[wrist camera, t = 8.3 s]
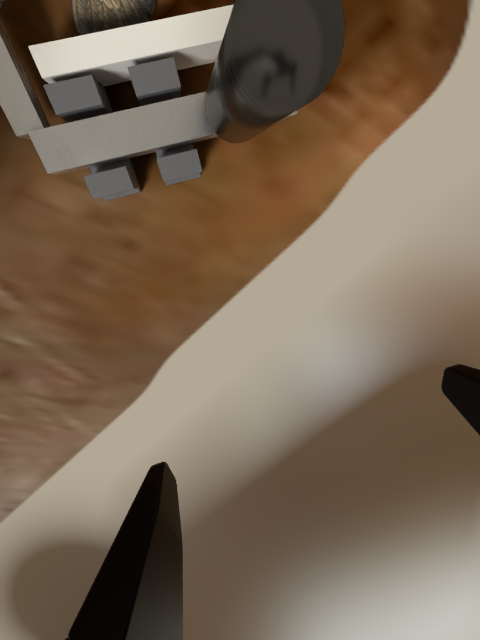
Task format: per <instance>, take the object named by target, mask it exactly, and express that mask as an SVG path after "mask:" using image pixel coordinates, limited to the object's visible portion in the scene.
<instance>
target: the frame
mask: <svg viewBox="0 0 480 640" xmlns="http://www.w3.org/2000/svg"><path fill="white" fill-rule="evenodd" d="M233 6H234V5H229V6H224V7H219V8H214V9H209V10H204V11H199V12H194V13H189V14H184V15H180V16H175V17H170V18H165V19H160V20H155V21H150V22H145V23H140V24H135V25H130V26H125V27H120V28H115V29H110V30H106V31H101V32H96V33H91V34H86V35H81V36H76V37H71V38H66V39H61V40H56V41H51V42H46V43H41V44H36V45H32V46H28V47H29V50H30V52H31V54H32V57H33V59H34V61H35V63H36V66H37V68H38V70H39V72H40V75H41V77H42V79H44V80H45V81H46V82H48V83H49V84H50V83H55V82H60V81H64V80H69V79H74V78H78V77H83V76H88V75H92V76H93V77H94V78H95V80H96V81H97V82H98V83H101V84H102V86H108V85H112V84H117V83H122V82H126V81H131V77H130V74H129V71H128V68H127V67H130V66H134V65H139V64H144V63H148V62H153V61H158V60H162V59H167V58H172V57H174V61H175V65H176V69H177V70H181V69H186V68H190V67H195V66H199V65H204V64H208V63H213V62H216V59H217V56H218V52H219V49H220V46H221V43H222V40H223V37H224V34H225V31H226V27H227V24H228V21H229V18H230V15H231V12H232V9H233Z"/></svg>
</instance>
